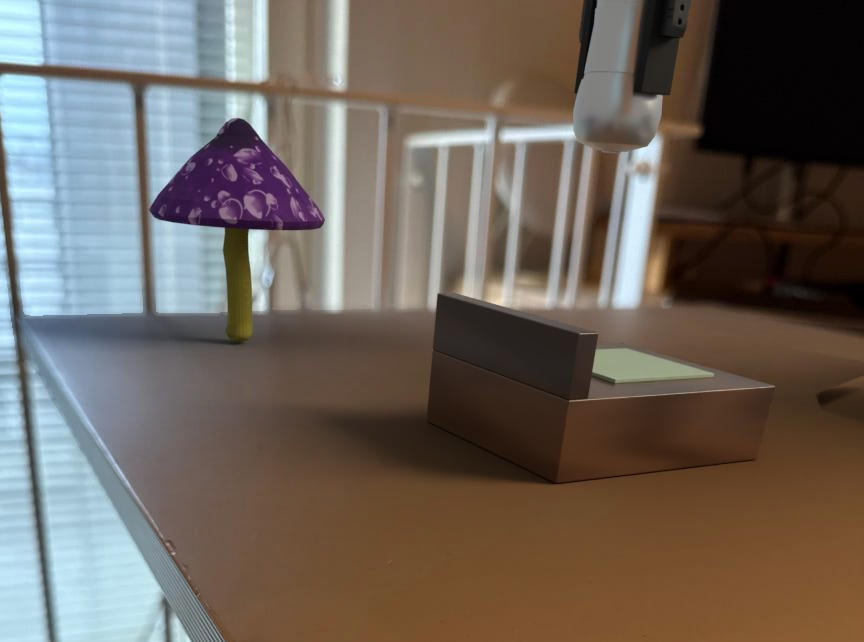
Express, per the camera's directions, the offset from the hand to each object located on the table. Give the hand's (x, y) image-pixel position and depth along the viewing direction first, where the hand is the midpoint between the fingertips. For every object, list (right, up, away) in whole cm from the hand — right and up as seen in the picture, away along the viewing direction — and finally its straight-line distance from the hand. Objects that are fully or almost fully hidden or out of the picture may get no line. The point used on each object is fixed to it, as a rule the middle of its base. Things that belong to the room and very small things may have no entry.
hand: (620, 93), depth 71 cm
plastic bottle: (0, -4, +2) cm, 4 cm away
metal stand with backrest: (-6, -29, -17) cm, 34 cm away
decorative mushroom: (-28, -18, +2) cm, 34 cm away
